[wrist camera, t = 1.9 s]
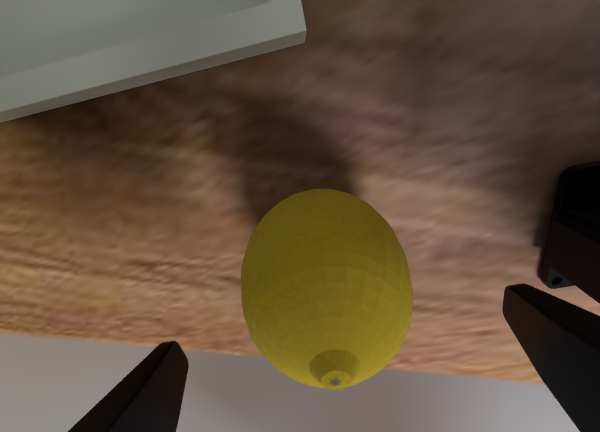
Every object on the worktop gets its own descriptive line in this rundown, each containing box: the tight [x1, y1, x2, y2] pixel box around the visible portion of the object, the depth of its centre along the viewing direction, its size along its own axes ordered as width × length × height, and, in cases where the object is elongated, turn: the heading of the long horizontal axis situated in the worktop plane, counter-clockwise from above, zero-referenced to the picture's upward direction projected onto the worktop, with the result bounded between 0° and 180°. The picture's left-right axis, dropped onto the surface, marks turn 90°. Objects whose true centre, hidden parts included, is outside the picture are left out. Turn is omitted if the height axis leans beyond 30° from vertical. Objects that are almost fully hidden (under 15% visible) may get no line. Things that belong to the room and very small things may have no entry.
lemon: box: [241, 189, 413, 390], centre depth 10 cm, size 6×6×8 cm
